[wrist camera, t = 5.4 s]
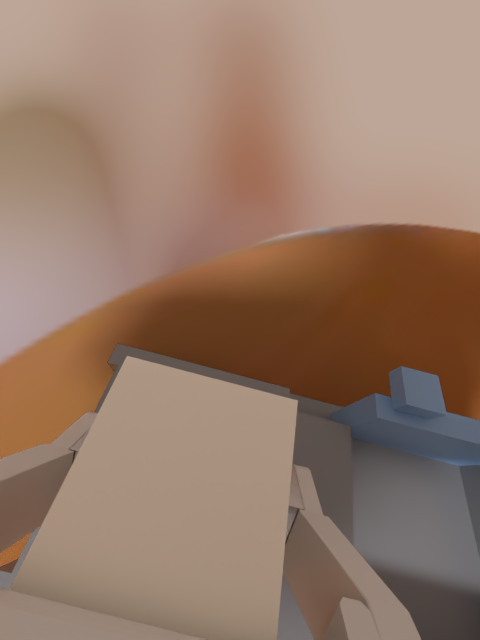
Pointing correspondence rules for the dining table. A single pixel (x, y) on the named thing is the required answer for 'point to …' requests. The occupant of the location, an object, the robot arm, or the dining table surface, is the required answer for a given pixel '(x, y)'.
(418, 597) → the two-compartment grey tray
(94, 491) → the white rectangular block
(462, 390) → the dining table surface
